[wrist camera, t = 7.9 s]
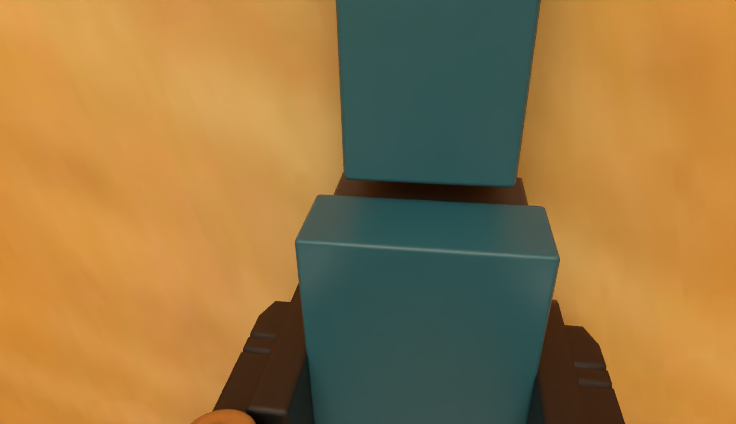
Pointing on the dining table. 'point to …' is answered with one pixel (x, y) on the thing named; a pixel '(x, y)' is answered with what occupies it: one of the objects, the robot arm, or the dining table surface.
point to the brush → (428, 222)
